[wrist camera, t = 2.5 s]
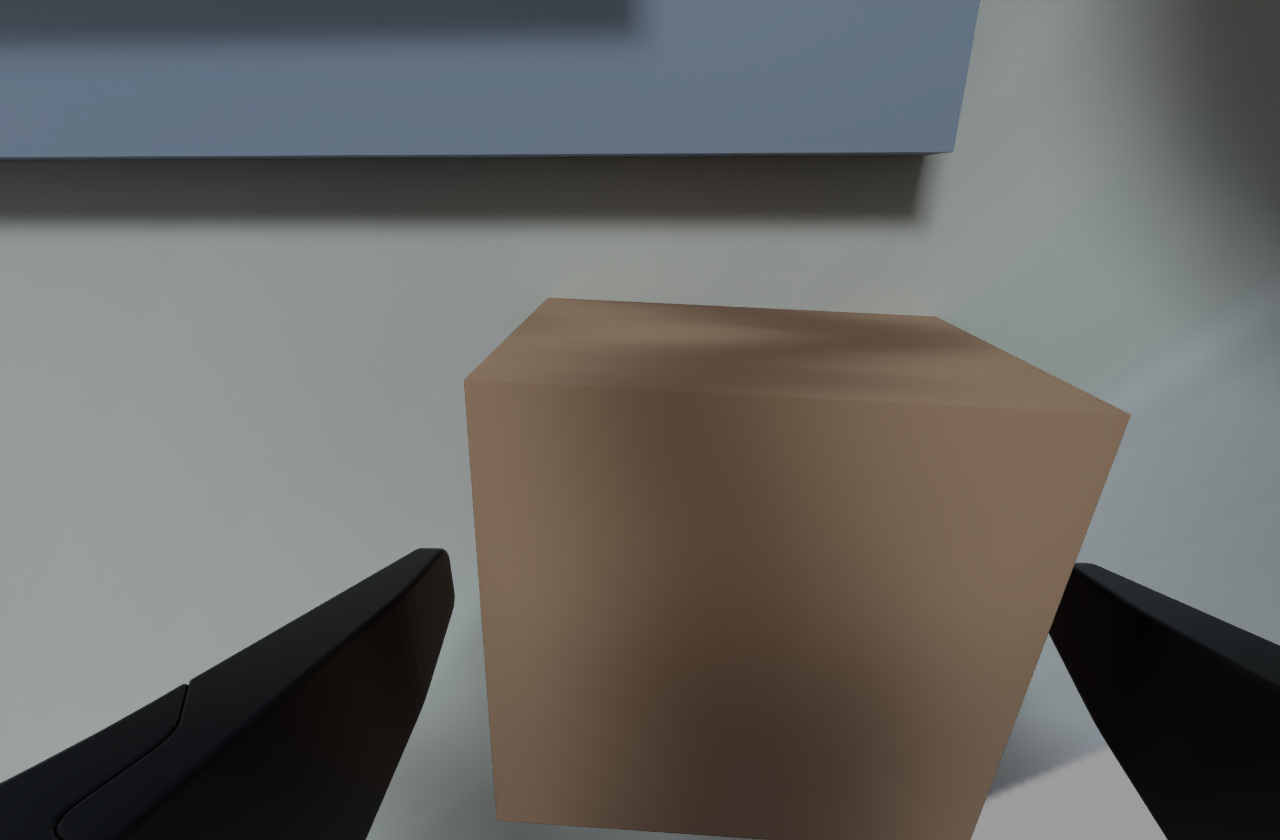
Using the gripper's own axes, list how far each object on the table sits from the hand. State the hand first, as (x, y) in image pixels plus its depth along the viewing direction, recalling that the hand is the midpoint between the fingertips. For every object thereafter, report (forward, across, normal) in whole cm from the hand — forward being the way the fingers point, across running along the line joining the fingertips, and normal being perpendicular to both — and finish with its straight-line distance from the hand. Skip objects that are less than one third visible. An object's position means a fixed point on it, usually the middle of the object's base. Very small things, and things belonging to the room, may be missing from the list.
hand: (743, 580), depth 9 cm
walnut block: (+4, 0, 0) cm, 4 cm away
